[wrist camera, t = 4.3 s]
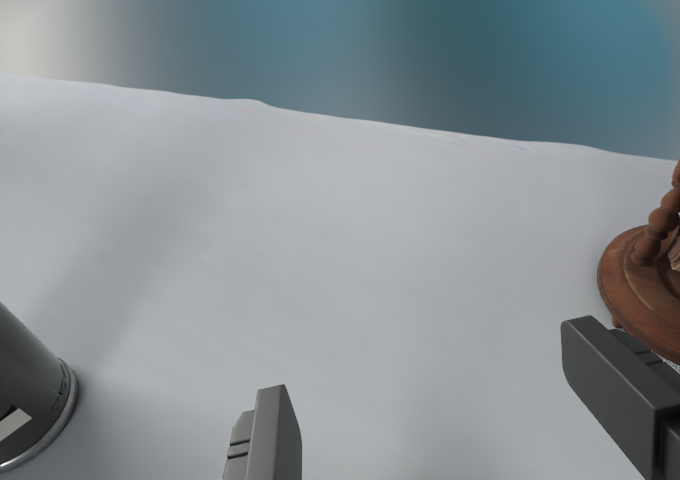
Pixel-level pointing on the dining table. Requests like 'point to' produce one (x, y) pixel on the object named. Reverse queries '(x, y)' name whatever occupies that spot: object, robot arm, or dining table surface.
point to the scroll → (647, 278)
